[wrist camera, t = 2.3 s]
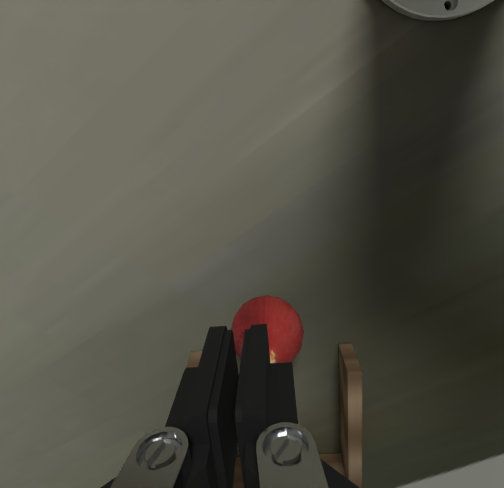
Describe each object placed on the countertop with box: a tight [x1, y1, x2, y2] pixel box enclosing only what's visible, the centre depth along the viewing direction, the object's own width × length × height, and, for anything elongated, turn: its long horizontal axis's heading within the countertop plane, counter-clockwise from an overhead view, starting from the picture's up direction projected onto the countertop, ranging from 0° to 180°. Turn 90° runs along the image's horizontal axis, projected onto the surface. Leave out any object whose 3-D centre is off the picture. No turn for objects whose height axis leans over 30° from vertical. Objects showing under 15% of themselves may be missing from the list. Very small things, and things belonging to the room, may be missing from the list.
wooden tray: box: [186, 343, 362, 488], centre depth 34 cm, size 15×15×4 cm
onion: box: [231, 296, 304, 363], centre depth 29 cm, size 6×6×8 cm
